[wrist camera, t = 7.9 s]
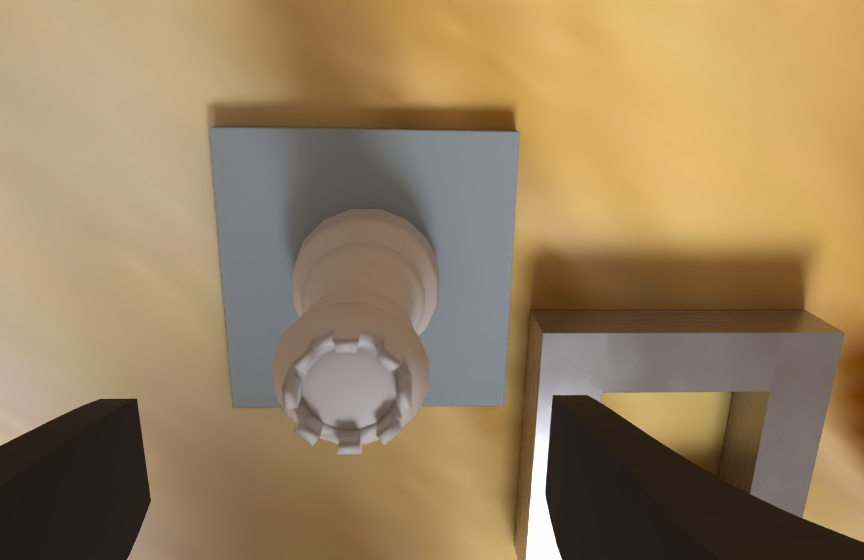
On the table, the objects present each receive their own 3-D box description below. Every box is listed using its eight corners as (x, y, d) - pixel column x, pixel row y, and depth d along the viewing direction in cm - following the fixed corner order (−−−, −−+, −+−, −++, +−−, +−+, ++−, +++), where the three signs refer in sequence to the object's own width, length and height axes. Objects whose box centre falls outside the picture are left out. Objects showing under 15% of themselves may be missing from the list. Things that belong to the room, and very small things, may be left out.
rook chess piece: (466, 294, 20) (506, 425, 13) (350, 366, 21) (321, 533, 13) (387, 175, 19) (378, 241, 11) (266, 255, 19) (179, 370, 12)
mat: (501, 397, 22) (503, 405, 21) (237, 399, 22) (232, 407, 21) (516, 130, 19) (519, 132, 19) (214, 126, 19) (208, 128, 18)
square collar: (757, 540, 24) (788, 579, 22) (514, 545, 24) (523, 585, 22) (805, 310, 22) (844, 332, 20) (530, 310, 21) (542, 333, 19)
